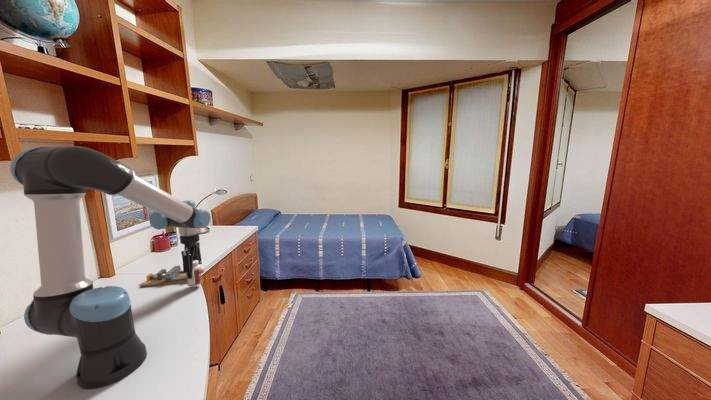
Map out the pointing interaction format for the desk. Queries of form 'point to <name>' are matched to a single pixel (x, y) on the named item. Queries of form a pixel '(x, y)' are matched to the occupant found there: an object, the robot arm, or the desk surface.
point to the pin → (153, 276)
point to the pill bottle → (196, 273)
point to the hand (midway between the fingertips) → (194, 280)
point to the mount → (167, 277)
